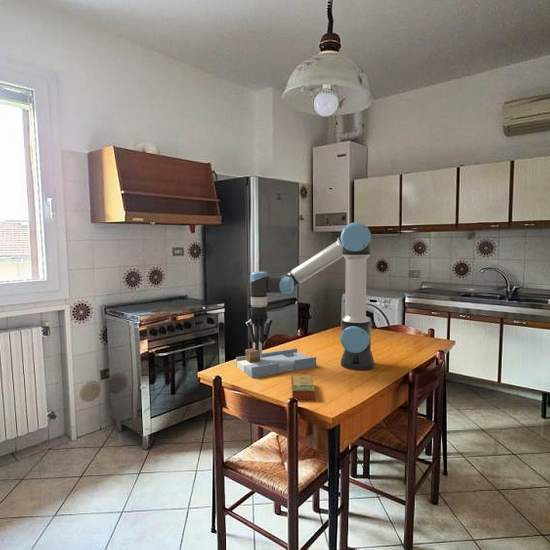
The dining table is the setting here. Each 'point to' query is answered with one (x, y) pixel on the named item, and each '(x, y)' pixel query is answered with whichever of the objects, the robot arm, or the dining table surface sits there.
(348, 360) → the robot arm
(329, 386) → the dining table surface
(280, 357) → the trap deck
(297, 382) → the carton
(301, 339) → the dining table surface
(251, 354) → the block
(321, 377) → the dining table surface
